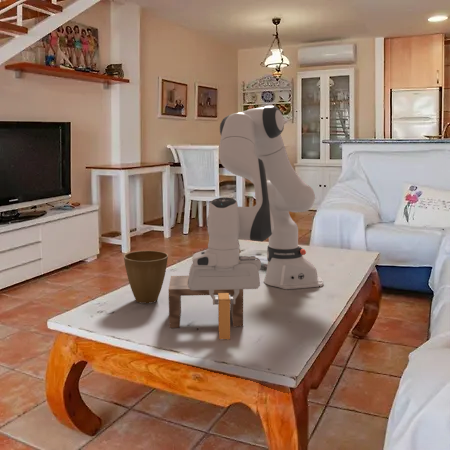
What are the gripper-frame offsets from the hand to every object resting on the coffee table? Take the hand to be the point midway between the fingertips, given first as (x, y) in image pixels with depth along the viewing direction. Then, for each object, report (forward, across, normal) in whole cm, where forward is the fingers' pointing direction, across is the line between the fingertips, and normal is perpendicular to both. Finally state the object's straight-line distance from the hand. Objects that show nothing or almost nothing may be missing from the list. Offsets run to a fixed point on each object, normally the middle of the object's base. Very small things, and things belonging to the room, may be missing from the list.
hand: (224, 303), depth 146 cm
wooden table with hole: (+9, +5, -13) cm, 17 cm away
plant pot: (+10, +25, -32) cm, 42 cm away
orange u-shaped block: (+9, 0, 0) cm, 9 cm away
